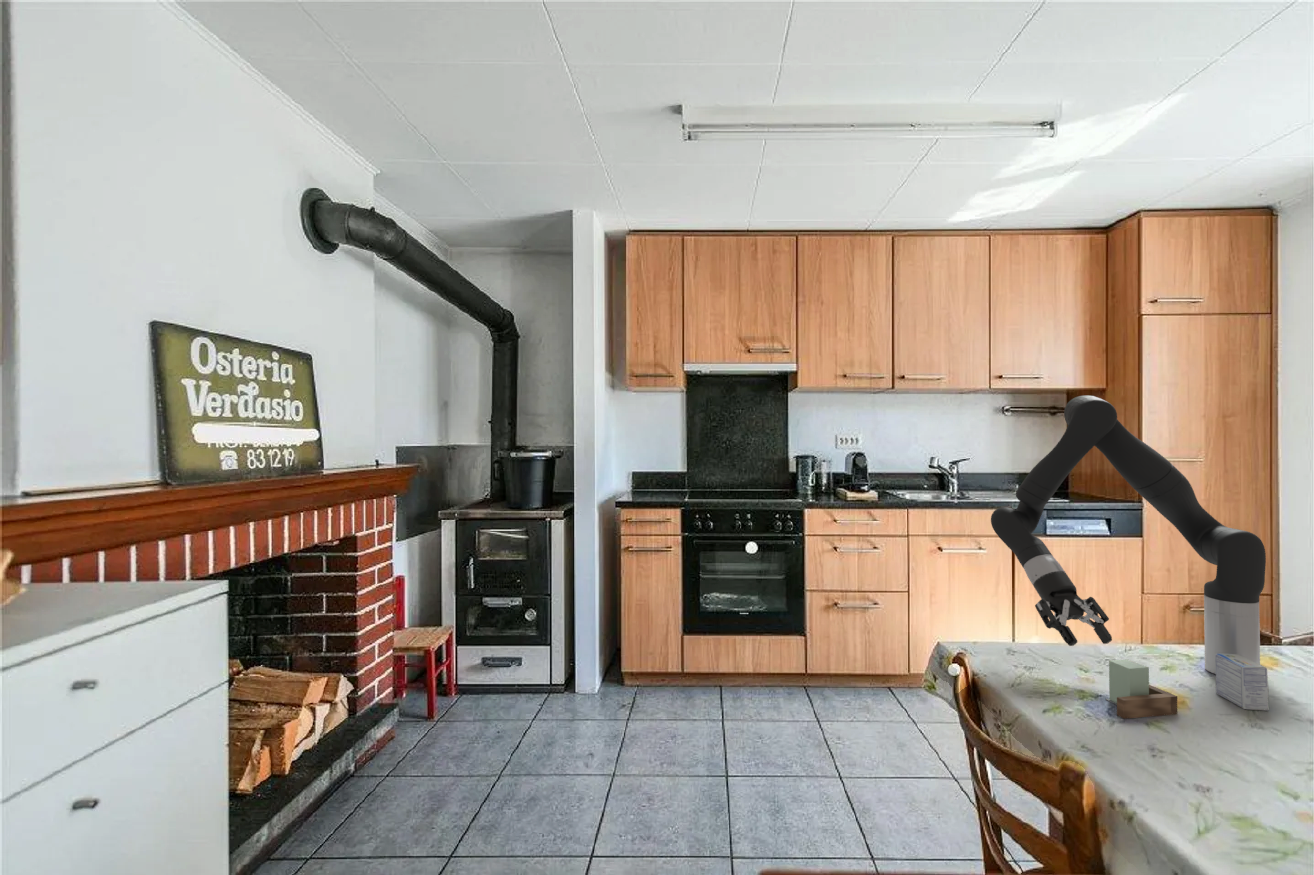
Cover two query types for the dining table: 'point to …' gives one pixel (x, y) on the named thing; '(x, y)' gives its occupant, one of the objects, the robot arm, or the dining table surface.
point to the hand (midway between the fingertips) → (1091, 643)
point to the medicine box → (1242, 681)
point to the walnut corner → (1147, 704)
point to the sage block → (1127, 679)
